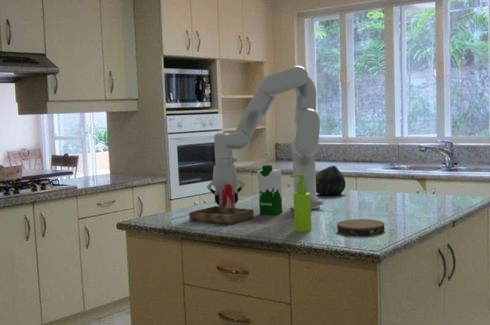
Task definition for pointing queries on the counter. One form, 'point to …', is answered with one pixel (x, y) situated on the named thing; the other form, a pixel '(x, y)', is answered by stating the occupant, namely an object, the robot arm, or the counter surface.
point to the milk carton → (270, 190)
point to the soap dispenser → (302, 206)
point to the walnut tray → (221, 215)
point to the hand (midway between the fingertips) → (226, 203)
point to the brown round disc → (360, 227)
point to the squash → (330, 181)
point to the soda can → (226, 196)
